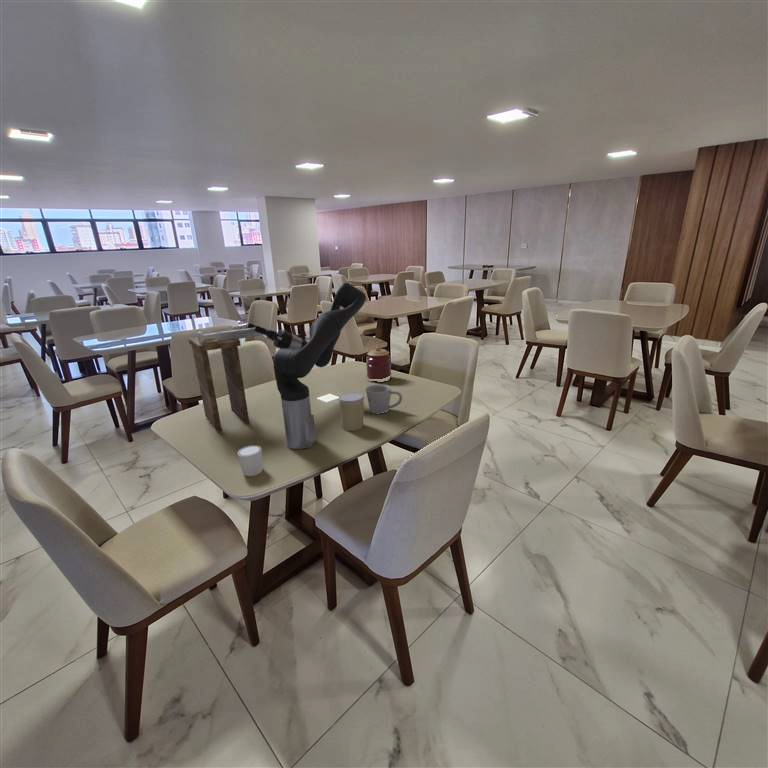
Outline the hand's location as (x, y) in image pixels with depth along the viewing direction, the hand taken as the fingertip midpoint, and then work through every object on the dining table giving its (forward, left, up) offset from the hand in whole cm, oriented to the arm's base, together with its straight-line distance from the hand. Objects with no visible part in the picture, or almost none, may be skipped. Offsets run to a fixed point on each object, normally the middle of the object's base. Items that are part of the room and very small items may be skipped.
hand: (251, 326), depth 146 cm
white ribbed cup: (-17, +43, -37) cm, 59 cm away
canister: (-40, -51, -37) cm, 74 cm away
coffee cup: (-40, +9, -37) cm, 55 cm away
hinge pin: (+6, +6, -4) cm, 9 cm away
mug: (-50, -7, -37) cm, 62 cm away
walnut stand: (+13, +6, -37) cm, 39 cm away
